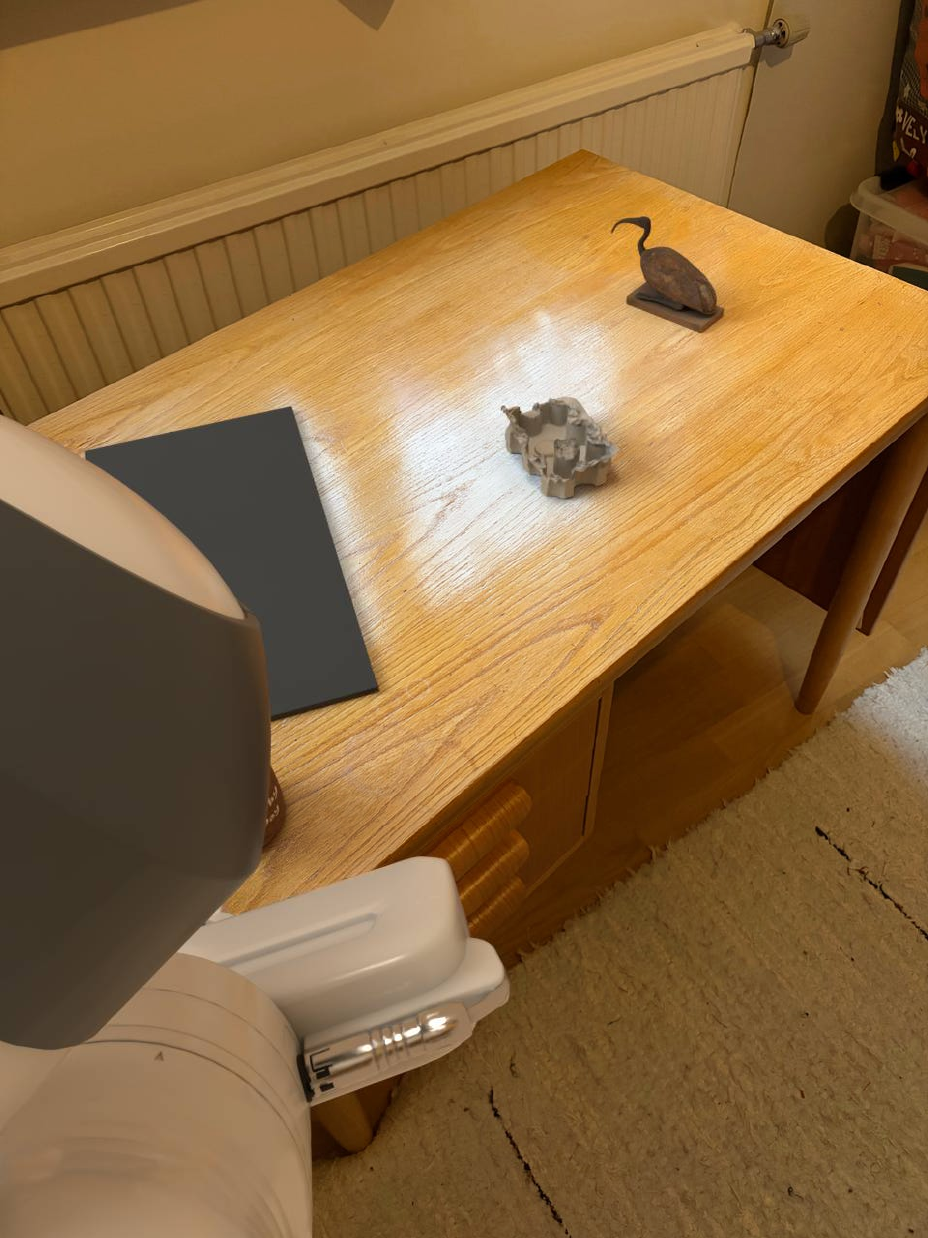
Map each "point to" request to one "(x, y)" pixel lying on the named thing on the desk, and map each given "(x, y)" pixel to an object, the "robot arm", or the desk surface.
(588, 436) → the egg carton
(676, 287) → the figurine
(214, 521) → the desk mat
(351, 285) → the desk surface
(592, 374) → the desk surface
